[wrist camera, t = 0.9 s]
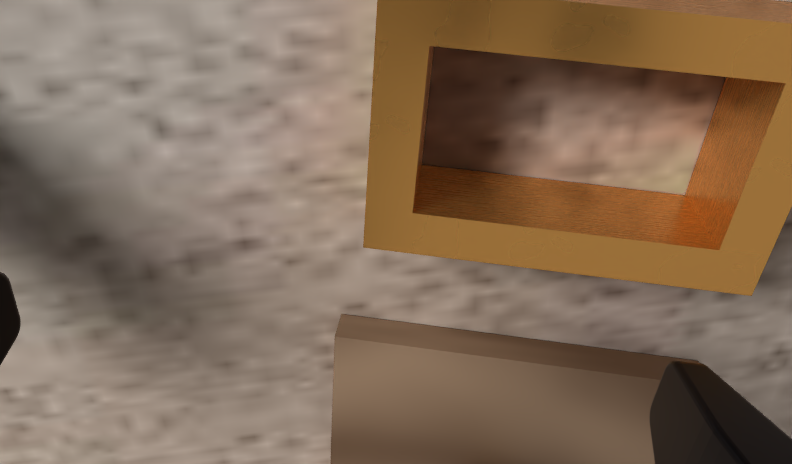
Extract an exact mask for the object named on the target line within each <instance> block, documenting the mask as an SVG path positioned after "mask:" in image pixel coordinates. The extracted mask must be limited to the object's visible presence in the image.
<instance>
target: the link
mask: <svg viewBox="0 0 792 464" xmlns="http://www.w3.org/2000/svg"><path fill="white" fill-rule="evenodd" d="M434 46H436V47H445V48H455V49H464V50H474V51H483V52H493V53H503V54H512V55H522V56H531V57H541V58H550V59H560V60H569V61H579V62H588V63H598V64H607V65H617V66H627V67H636V68H646V69H655V70H665V71H674V72H684V73H693V74H703V75H712V76H722V77H726V79H725V82H724V85H723V87H722V90H721V93H720V96H719V99H718V102H717V105H716V108H715V110H714V113H713V116H712V119H711V122H710V125H709V128H708V131H707V133H706V136H705V139H704V142H703V145H702V148H701V151H700V154H699V156H698V159H697V162H696V165H695V168H694V171H693V174H692V177H691V180H690V182H689V185H688V188H687V191H686V194H685V195H677V194H669V193H660V192H651V191H643V190H634V189H626V188H617V187H608V186H600V185H591V184H583V183H574V182H565V181H557V180H548V179H540V178H531V177H522V176H514V175H505V174H497V173H488V172H479V171H471V170H462V169H454V168H445V167H436V166H428V165H422V157H423V148H424V138H425V129H426V119H427V110H428V100H429V91H430V81H431V72H432V62H433V53H434ZM791 207H792V2H786V1H776V0H378V1H377V18H376V36H375V53H374V70H373V88H372V105H371V123H370V140H369V157H368V175H367V192H366V210H365V227H364V244H363V247H364V248H372V249H380V250H388V251H396V252H404V253H412V254H420V255H428V256H436V257H444V258H452V259H460V260H468V261H476V262H484V263H492V264H500V265H508V266H516V267H524V268H532V269H540V270H548V271H556V272H564V273H572V274H580V275H588V276H596V277H604V278H612V279H620V280H628V281H636V282H644V283H653V284H661V285H669V286H677V287H685V288H693V289H701V290H709V291H717V292H725V293H733V294H741V295H749V296H752V294H753V292H754V289H755V287H756V285H757V283H758V281H759V278H760V276H761V274H762V272H763V269H764V267H765V265H766V263H767V260H768V258H769V256H770V254H771V252H772V249H773V247H774V245H775V243H776V240H777V238H778V236H779V234H780V232H781V229H782V227H783V225H784V223H785V220H786V218H787V216H788V214H789V211H790V209H791Z"/></svg>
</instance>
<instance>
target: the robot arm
mask: <svg viewBox="0 0 792 464" xmlns="http://www.w3.org/2000/svg"><path fill="white" fill-rule="evenodd" d="M19 330H20V315H19V312H18V308H17V305H16V301H15V298H14V294H13V291H12V287H11V284H10V281H9V279H8V277H7V276H6V275H5V274H4V273H1V272H0V365H1V363H2V362H3V360H4V358H5V356H6V355H7V353H8V351H9V350H10V348H11V346H12V345H13V343H14V341H15V340H16V338H17V336H18V333H19ZM649 421H650V430H651V438H652V445H653V453H654V460H655V464H792V439H791V438H790V437H789V436H788V435H786V434H785V433H784V432H783V431H782V430H781V429H779V428H778V427H777V426H776V425H775V424H774V423H772V422H771V421H770V420H769V419H768V418H767V417H765V416H764V415H763V414H762V413H761V412H760V411H758V410H757V409H756V408H755V407H754V406H753V405H752V404H750V403H749V402H748V401H747V400H746V399H745V398H743V397H742V396H741V395H740V394H739V393H738V392H736V391H735V390H734V389H733V388H732V387H731V386H729V385H728V384H727V383H726V382H725V381H724V380H722V379H721V378H720V377H719V376H718V375H717V374H715V373H714V372H713V371H712V370H711V369H710V368H708V367H707V366H706V365H704V364H701V363H694V362H686V361H679V360H674V361H672V362H670V363H669V364H668V365H667V366H666V368H665V371H664V373H663V376H662V378H661V381H660V383H659V386H658V389H657V391H656V394H655V396H654V399H653V401H652V404H651V408H650V415H649Z"/></svg>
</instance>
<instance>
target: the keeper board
mask: <svg viewBox="0 0 792 464" xmlns="http://www.w3.org/2000/svg"><path fill="white" fill-rule="evenodd" d="M674 360H679V361H686V362H694V363H698V361H695V360H687V359H680V358H672V357H664V356H657V355H649V354H642V353H634V352H626V351H619V350H611V349H604V348H596V347H588V346H581V345H573V344H565V343H558V342H550V341H543V340H535V339H527V338H520V337H512V336H505V335H497V334H489V333H482V332H474V331H467V330H459V329H451V328H444V327H436V326H428V325H421V324H413V323H406V322H398V321H390V320H383V319H375V318H368V317H360V316H352V315H345V314H342V315H341V318H340V321H339V324H338V328H337V331H336V334H335V346H334V376H333V406H332V437H331V464H655V460H654V453H653V445H652V438H651V430H650V421H649V415H650V408H651V404H652V401H653V399H654V396H655V394H656V391H657V389H658V386H659V383H660V381H661V378H662V376H663V373H664V371H665V368H666V366H667V365H668V364H669V363H670V362H672V361H674Z"/></svg>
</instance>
